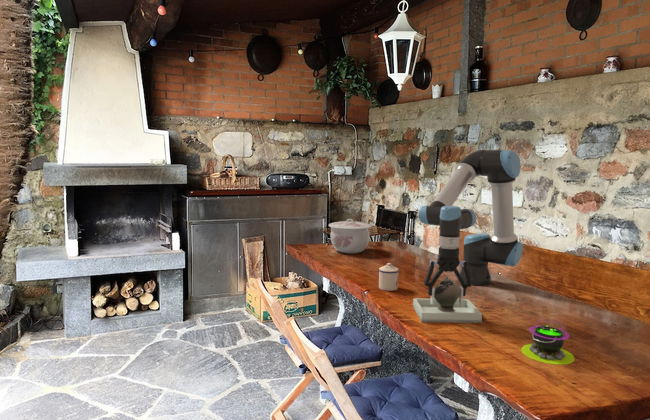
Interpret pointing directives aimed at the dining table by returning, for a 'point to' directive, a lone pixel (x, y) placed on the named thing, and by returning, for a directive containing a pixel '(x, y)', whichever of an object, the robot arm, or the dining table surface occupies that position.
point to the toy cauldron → (548, 346)
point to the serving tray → (460, 315)
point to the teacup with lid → (388, 277)
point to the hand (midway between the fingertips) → (446, 303)
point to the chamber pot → (350, 236)
